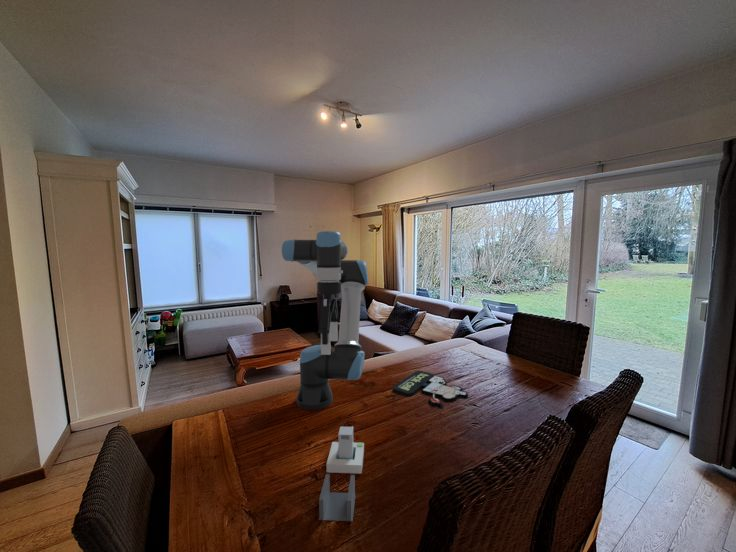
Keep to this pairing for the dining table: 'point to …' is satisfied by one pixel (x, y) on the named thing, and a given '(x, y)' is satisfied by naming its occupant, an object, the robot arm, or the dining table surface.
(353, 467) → the frame
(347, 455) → the plug
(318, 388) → the robot arm
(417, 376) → the sign
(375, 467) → the dining table surface
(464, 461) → the dining table surface
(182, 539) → the dining table surface
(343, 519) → the holster
